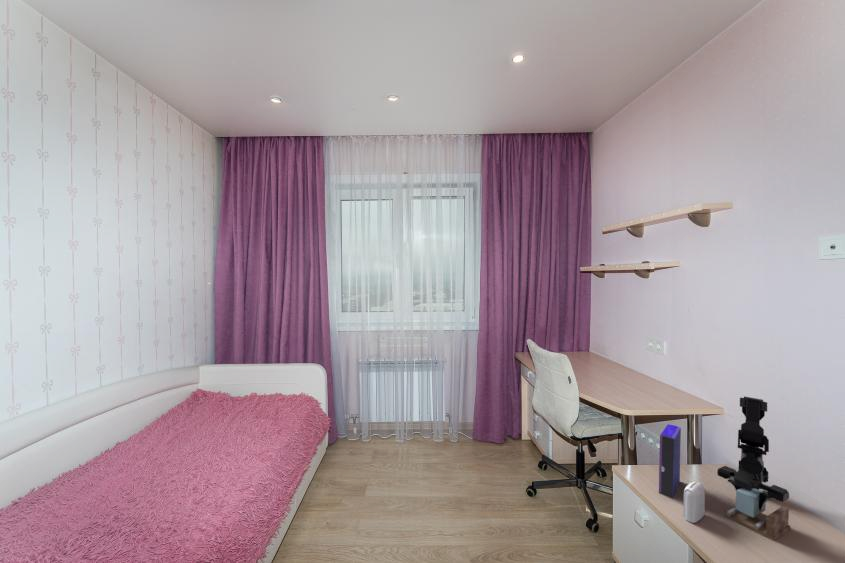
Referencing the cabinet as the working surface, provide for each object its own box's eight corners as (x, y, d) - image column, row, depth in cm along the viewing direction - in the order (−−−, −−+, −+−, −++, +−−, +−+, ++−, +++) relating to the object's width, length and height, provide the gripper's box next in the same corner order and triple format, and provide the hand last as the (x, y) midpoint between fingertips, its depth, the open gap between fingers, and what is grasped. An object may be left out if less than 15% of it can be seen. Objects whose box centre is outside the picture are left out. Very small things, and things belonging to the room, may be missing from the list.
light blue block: (748, 502, 133) (748, 483, 133) (765, 509, 129) (766, 490, 129) (735, 509, 128) (736, 490, 128) (753, 517, 124) (753, 498, 124)
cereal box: (666, 477, 156) (667, 423, 156) (679, 481, 153) (680, 427, 153) (658, 493, 144) (659, 435, 144) (672, 498, 140) (674, 438, 141)
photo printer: (692, 509, 134) (693, 477, 134) (706, 515, 130) (706, 482, 130) (681, 518, 128) (682, 485, 128) (695, 525, 124) (696, 490, 125)
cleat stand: (740, 505, 136) (740, 488, 137) (790, 528, 124) (790, 508, 124) (723, 515, 130) (723, 497, 130) (773, 540, 118) (774, 520, 118)
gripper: (710, 456, 133) (709, 497, 133) (776, 481, 117) (776, 528, 117) (724, 450, 138) (723, 489, 138) (790, 474, 122) (789, 518, 122)
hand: (750, 505), depth 128 cm, fingers closed on light blue block, 5 cm apart
